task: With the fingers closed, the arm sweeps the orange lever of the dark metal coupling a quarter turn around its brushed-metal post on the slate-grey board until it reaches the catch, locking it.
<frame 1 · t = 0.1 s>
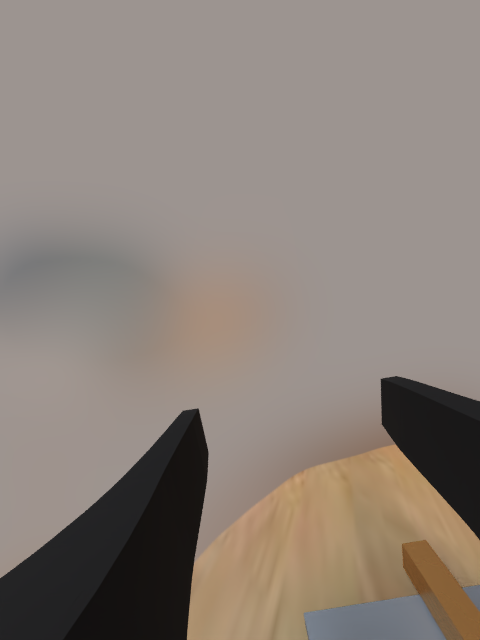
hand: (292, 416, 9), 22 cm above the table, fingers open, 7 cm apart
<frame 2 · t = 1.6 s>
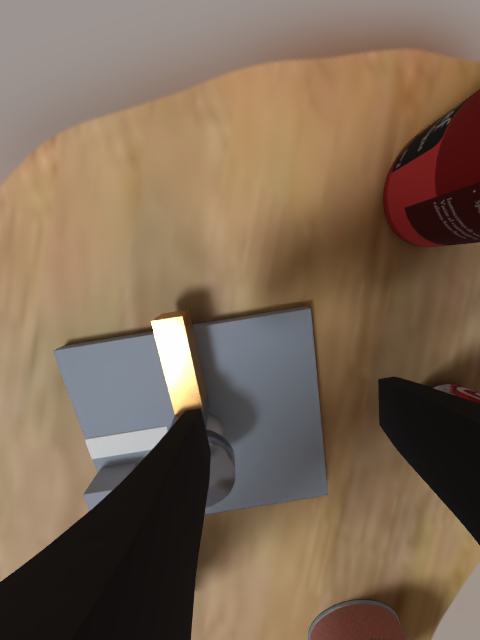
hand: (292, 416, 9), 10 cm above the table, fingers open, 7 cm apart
canned food: (427, 193, 17), on the table
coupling: (189, 406, 16), point 4 cm above the table, hinge at 0.0°
soda can: (433, 411, 21), on the table
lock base: (205, 421, 21), on the table
canned food 2: (353, 629, 28), on the table
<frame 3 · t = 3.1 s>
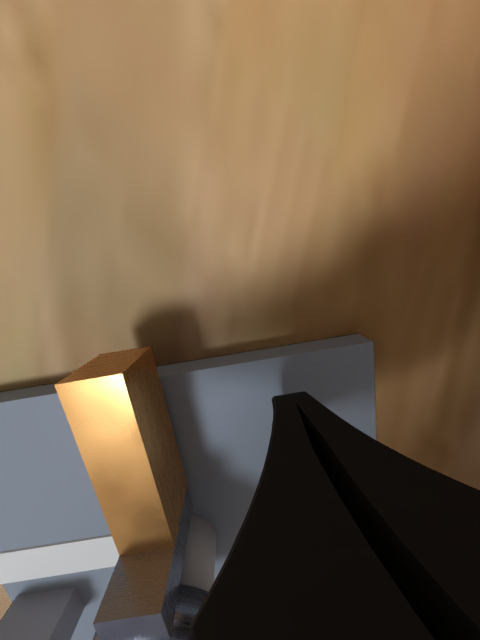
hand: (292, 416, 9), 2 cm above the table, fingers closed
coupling: (148, 535, 8), point 4 cm above the table, hinge at 0.0°
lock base: (189, 513, 13), on the table
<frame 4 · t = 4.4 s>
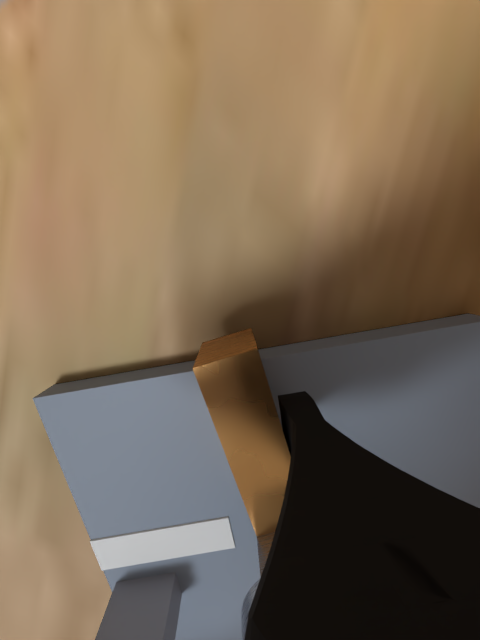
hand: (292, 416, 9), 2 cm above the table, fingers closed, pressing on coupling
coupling: (279, 513, 8), point 4 cm above the table, hinge at 7.6°, touching gripper
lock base: (284, 498, 13), on the table
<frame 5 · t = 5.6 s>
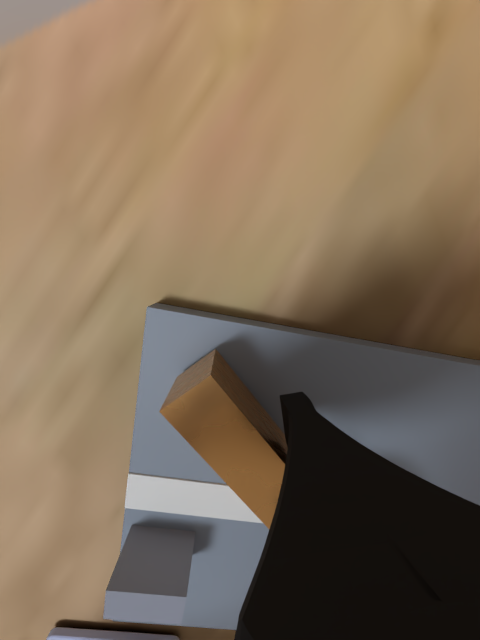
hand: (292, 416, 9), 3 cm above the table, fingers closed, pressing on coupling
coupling: (297, 514, 9), point 4 cm above the table, hinge at 47.2°, touching gripper
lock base: (317, 490, 13), on the table
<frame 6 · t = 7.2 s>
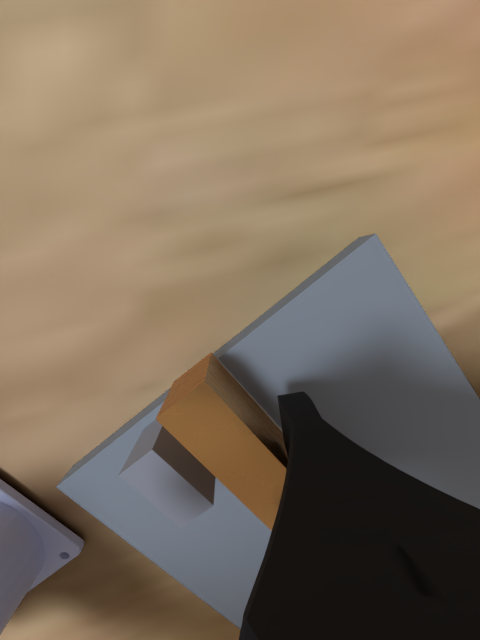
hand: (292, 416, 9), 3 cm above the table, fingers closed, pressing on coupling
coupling: (299, 514, 9), point 4 cm above the table, hinge at 89.4°, touching gripper
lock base: (320, 488, 13), on the table
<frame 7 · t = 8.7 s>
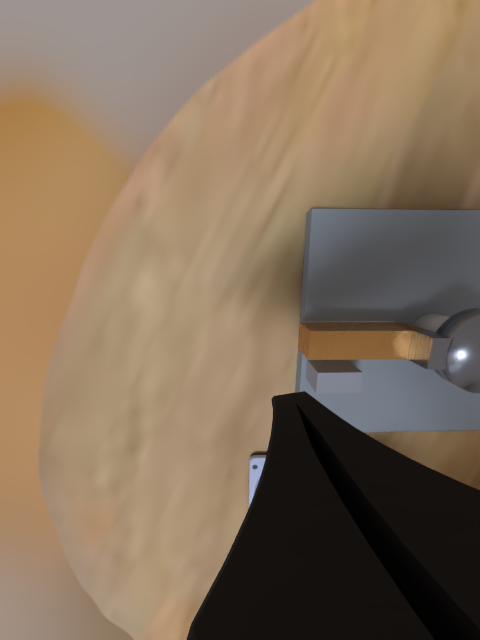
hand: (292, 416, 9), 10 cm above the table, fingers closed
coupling: (402, 343, 16), point 4 cm above the table, hinge at 89.7°
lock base: (417, 329, 19), on the table
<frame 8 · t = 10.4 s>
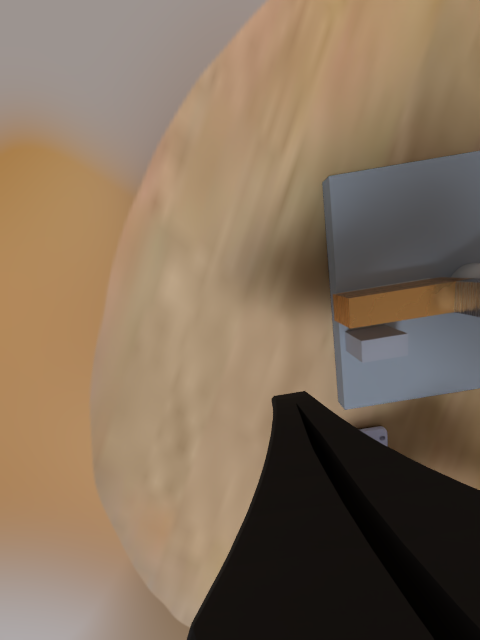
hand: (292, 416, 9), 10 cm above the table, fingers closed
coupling: (445, 296, 15), point 4 cm above the table, hinge at 89.7°
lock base: (453, 283, 19), on the table
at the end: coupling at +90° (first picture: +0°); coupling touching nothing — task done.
